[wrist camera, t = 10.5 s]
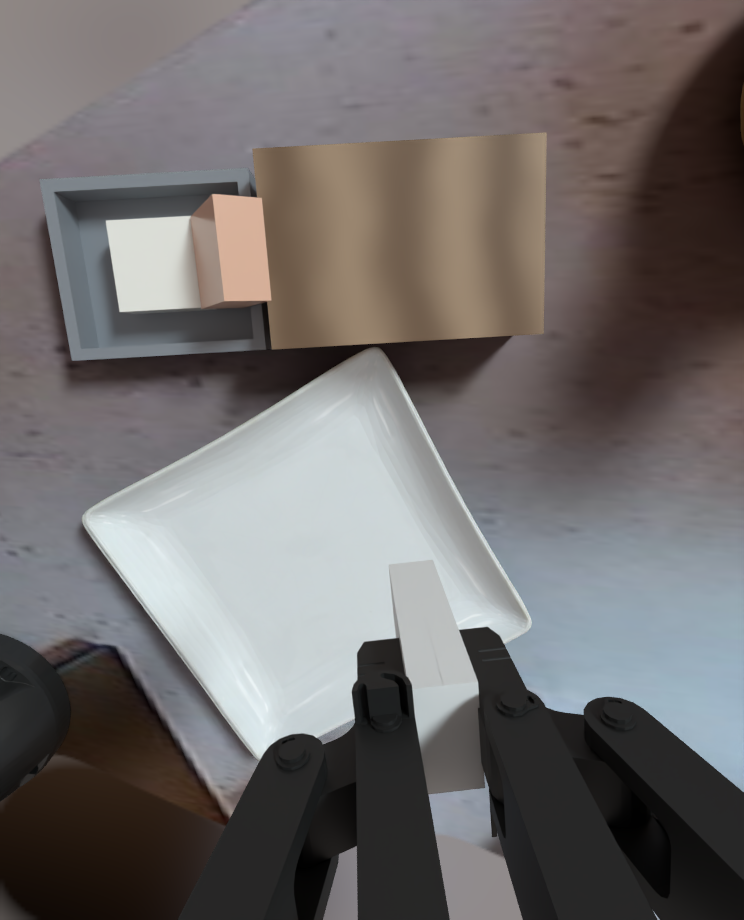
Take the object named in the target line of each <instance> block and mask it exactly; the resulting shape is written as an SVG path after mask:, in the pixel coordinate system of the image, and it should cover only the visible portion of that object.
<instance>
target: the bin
mask: <svg viewBox="0 0 744 920" xmlns="http://www.w3.org/2000/svg"><path fill="white" fill-rule="evenodd" d="M39 180H40V185H41V191H42V196H43V202H44V208H45V213H46V219H47V224H48V230H49V235H50V241H51V247H52V252H53V258H54V263H55V269H56V275H57V280H58V286H59V291H60V297H61V303H62V308H63V314H64V319H65V325H66V330H67V336H68V342H69V347H70V353H71V358H72V361H78V360H95V359H112V358H130V357H147V356H164V355H181V354H199V353H216V352H233V351H250V350H267V349H272V346H271V336H270V326H269V315H268V305H267V302H264V303H260V304H257V305H253V306H249V307H245V308H224V309H216V310H203V311H185V312H167V313H149V314H132V313H123V312H120V311H119V304H118V298H117V291H116V285H115V278H114V272H113V265H112V259H111V252H110V246H109V240H108V233H107V227H106V220H124V219H142V218H161V217H179V216H192V215H193V213H194V212H195V211H196V210H197V209H198V208H199V207H200V206H201V205H202V204H203V203H204V202H205V201H206V200H207V199H208V198H209V197H210V196H211V195H212V194H220V195H232V196H244V197H256V198H257V191H256V180H255V178H254V176H253V175H252V173H251V172H250V170H249V169H248V168H238V169H220V170H202V171H184V172H166V173H147V174H129V175H111V176H93V177H75V178H57V179H39Z"/></svg>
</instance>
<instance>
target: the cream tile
mask: <svg viewBox="0 0 744 920" xmlns="http://www.w3.org/2000/svg"><path fill="white" fill-rule="evenodd" d="M190 217H191V216H179V217H161V218H142V219H124V220H106V227H107V233H108V240H109V246H110V252H111V259H112V265H113V272H114V278H115V285H116V291H117V298H118V304H119V311H120V312H123V313H132V314H149V313H167V312H185V311H203V310H216V309H201V302H200V294H199V286H198V278H197V270H196V262H195V254H194V246H193V237H192V229H191V221H190Z"/></svg>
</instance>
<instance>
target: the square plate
mask: <svg viewBox="0 0 744 920" xmlns="http://www.w3.org/2000/svg"><path fill="white" fill-rule="evenodd" d="M82 523H83V525H84V527H85V529H86V530H87V532H88V533H89V535H90V536H91V538H92V539H93V541H94V542H95V543H96V545H97V546H98V548H99V549H100V550H101V552H102V553H103V554H104V556H105V557H106V558H107V560H108V561H109V562H110V564H111V565H112V566H113V568H114V569H115V570H116V572H117V573H118V574H119V576H120V577H121V578H122V580H123V581H124V582H125V583H126V585H127V586H128V588H129V589H130V590H131V592H132V593H133V594H134V596H135V597H136V598H137V600H138V601H139V602H140V604H141V605H142V606H143V608H144V609H145V610H146V612H147V613H148V614H149V616H150V617H151V618H152V620H153V621H154V622H155V624H156V625H157V626H158V628H159V629H160V630H161V632H162V633H163V634H164V636H165V637H166V638H167V640H168V641H169V643H170V644H171V645H172V647H173V648H174V649H175V651H176V652H177V654H178V655H179V656H180V658H181V659H182V660H183V661H184V663H185V664H186V666H187V667H188V668H189V670H190V671H191V673H192V674H193V675H194V677H195V678H196V679H197V681H198V682H199V683H200V685H201V686H202V687H203V689H204V690H205V691H206V693H207V694H208V695H209V697H210V699H211V700H212V701H213V703H214V704H215V706H216V707H217V708H218V710H219V711H220V713H221V714H222V715H223V717H224V718H225V719H226V721H227V722H228V723H229V725H230V726H231V728H232V729H233V730H234V732H235V733H236V734H237V736H238V737H239V738H240V740H241V741H242V742H243V743H244V745H245V746H246V747H247V748H248V750H249V751H250V752H251V753H252V755H253V756H254V757H255V758H256V759H257V760H258V761H260V759H261V758H262V756H263V754H264V753H265V751H266V750H267V749H268V747H269V746H270V745H271V744H273V743H274V742H276V741H277V740H278V739H280V738H283V737H285V736H288V735H291V734H301V733H304V734H308V735H313V736H315V737H316V738H318V737H320V736H322V735H324V734H326V733H328V732H330V731H332V730H334V729H336V728H338V727H339V726H341V725H343V724H345V723H347V722H349V721H351V720H353V719H355V716H354V708H353V700H352V688H353V685H354V683H355V682H356V681H357V652H358V651H359V649H360V647H361V646H362V644H363V643H364V642H366V641H375V640H384V639H393V638H396V634H395V624H394V614H393V604H392V594H391V584H390V574H389V565H388V564H398V563H407V562H416V561H425V560H433V562H434V564H435V567H436V570H437V572H438V575H439V578H440V580H441V583H442V586H443V589H444V591H445V594H446V597H447V599H448V602H449V605H450V607H451V610H452V613H453V616H454V618H455V621H456V624H457V626H458V629H459V630H462V629H471V628H480V627H489V628H490V629H491V630H493V631H494V632H495V633H497V634H498V635H500V637H501V639H502V641H503V643H504V644H506V643H508V642H509V641H511V640H513V639H515V638H517V637H519V636H521V635H522V634H524V633H526V632H527V631H528V630H529V629H530V627H531V624H532V621H531V618H530V615H529V613H528V612H527V609H526V607H525V605H524V604H523V601H522V600H521V598H520V596H519V594H518V592H517V591H516V590H515V588H514V586H513V584H512V583H511V581H510V580H509V578H508V576H507V575H506V573H505V571H504V570H503V568H502V566H501V565H500V563H499V561H498V560H497V558H496V556H495V555H494V553H493V551H492V550H491V548H490V546H489V545H488V543H487V541H486V539H485V538H484V536H483V534H482V532H481V531H480V530H479V528H478V526H477V524H476V523H475V521H474V519H473V517H472V515H471V514H470V512H469V510H468V508H467V507H466V505H465V503H464V501H463V499H462V497H461V495H460V494H459V492H458V490H457V488H456V486H455V484H454V482H453V481H452V479H451V477H450V475H449V473H448V471H447V469H446V467H445V465H444V463H443V461H442V460H441V458H440V456H439V454H438V452H437V450H436V448H435V446H434V444H433V442H432V440H431V438H430V436H429V434H428V433H427V431H426V428H425V426H424V424H423V422H422V420H421V418H420V416H419V415H418V413H417V411H416V409H415V407H414V405H413V403H412V401H411V399H410V397H409V395H408V393H407V391H406V389H405V388H404V386H403V384H402V382H401V379H400V378H399V376H398V374H397V372H396V371H395V369H394V367H393V365H392V364H391V362H390V360H389V359H388V357H387V355H386V354H385V353H384V352H383V351H382V349H380V348H378V347H370V348H368V349H365V350H363V351H361V352H359V353H357V354H355V355H353V356H352V357H350V358H348V359H347V360H345V361H343V362H341V363H340V364H338V365H336V366H335V367H333V368H331V369H330V370H328V371H327V372H325V373H324V374H322V375H320V376H319V377H317V378H316V379H314V380H313V381H311V382H309V383H308V384H306V385H305V386H303V387H301V388H300V389H298V390H297V391H295V392H294V393H292V394H290V395H289V396H287V397H286V398H284V399H283V400H281V401H279V402H278V403H276V404H275V405H273V406H271V407H270V408H268V409H267V410H265V411H263V412H261V413H260V414H258V415H257V416H255V417H253V418H252V419H250V420H248V421H247V422H245V423H243V424H242V425H240V426H239V427H237V428H235V429H234V430H232V431H230V432H228V433H227V434H225V435H223V436H222V437H220V438H218V439H216V440H215V441H213V442H211V443H209V444H207V445H206V446H204V447H202V448H200V449H199V450H197V451H195V452H193V453H191V454H190V455H188V456H186V457H184V458H182V459H180V460H178V461H176V462H174V463H173V464H171V465H169V466H167V467H165V468H163V469H161V470H159V471H157V472H155V473H153V474H152V475H150V476H148V477H146V478H144V479H142V480H140V481H138V482H136V483H134V484H132V485H130V486H128V487H127V488H125V489H123V490H121V491H119V492H117V493H115V494H113V495H112V496H110V497H108V498H106V499H104V500H102V501H101V502H99V503H97V504H96V505H94V506H93V507H91V508H90V509H89V510H87V511H86V512H85V513H84V514H83V516H82Z"/></svg>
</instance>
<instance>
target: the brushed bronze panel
mask: <svg viewBox="0 0 744 920" xmlns="http://www.w3.org/2000/svg"><path fill="white" fill-rule="evenodd" d="M546 137H547V133H530V134H511V135H493V136H475V137H457V138H439V139H420V140H402V141H384V142H366V143H347V144H329V145H311V146H293V147H275V148H256V149H253V159H254V170H255V180H256V191H257V198H262V205H263V216H264V226H265V237H266V248H267V258H268V269H269V279H270V290H271V301H268V302H267V305H268V315H269V326H270V336H271V346H272V350H273V349H290V348H308V347H325V346H342V345H359V344H377V343H394V342H411V341H428V340H445V339H463V338H480V337H497V336H514V335H532V334H544V273H545V205H546Z"/></svg>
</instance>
